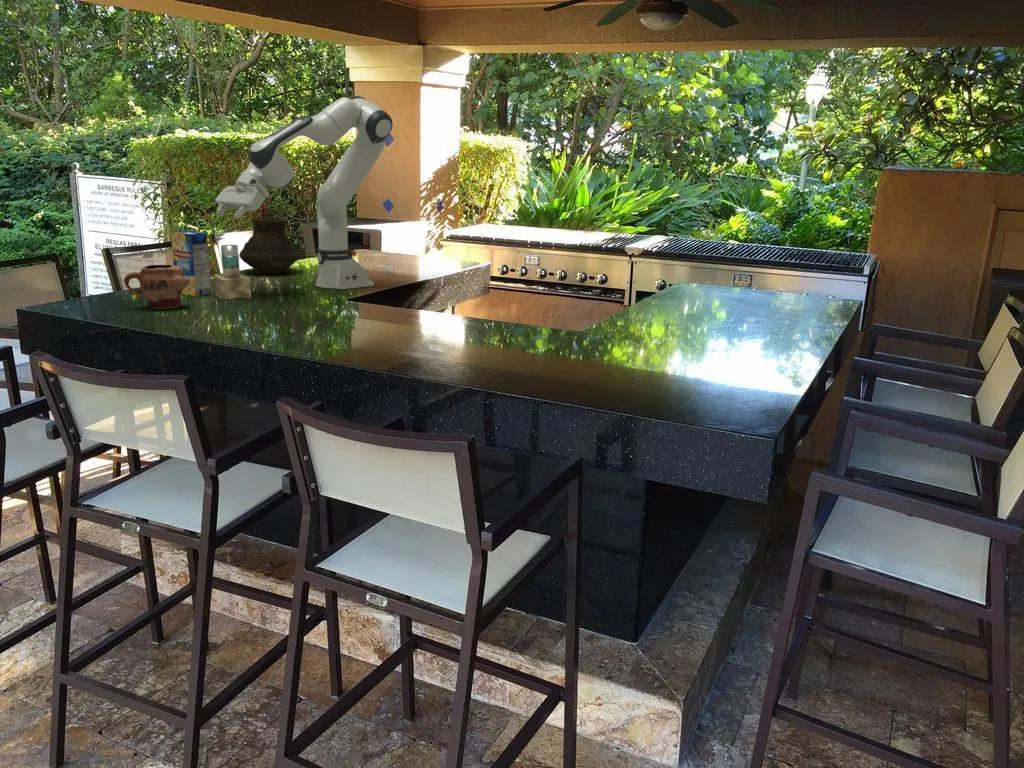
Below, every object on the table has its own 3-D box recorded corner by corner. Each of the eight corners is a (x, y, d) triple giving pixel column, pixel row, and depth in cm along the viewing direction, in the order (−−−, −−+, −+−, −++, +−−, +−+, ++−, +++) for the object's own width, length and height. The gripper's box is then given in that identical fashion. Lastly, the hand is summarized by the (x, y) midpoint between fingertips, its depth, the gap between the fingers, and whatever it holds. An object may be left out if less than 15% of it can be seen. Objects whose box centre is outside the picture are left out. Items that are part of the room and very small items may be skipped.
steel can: (237, 275, 307) (234, 244, 304) (242, 277, 303) (239, 246, 300) (221, 276, 304) (218, 245, 301) (226, 278, 300) (223, 247, 297)
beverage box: (196, 296, 303) (191, 234, 297) (175, 293, 308) (170, 231, 302) (211, 294, 308) (207, 232, 302) (191, 290, 314) (186, 230, 308)
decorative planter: (128, 313, 273) (123, 269, 270) (125, 306, 284) (121, 264, 280) (194, 309, 282) (190, 267, 278) (189, 302, 293) (186, 261, 289)
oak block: (243, 293, 312) (242, 274, 310) (251, 297, 304) (250, 278, 302) (215, 295, 307) (213, 275, 305) (222, 299, 299) (221, 279, 297)
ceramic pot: (296, 277, 349) (294, 221, 343) (235, 276, 346) (232, 220, 339) (303, 268, 372) (301, 216, 365) (245, 267, 368) (242, 215, 362)
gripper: (224, 178, 306) (203, 208, 301) (261, 181, 295) (239, 212, 290) (235, 191, 311) (214, 220, 306) (272, 194, 299) (251, 224, 294)
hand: (227, 216), depth 298 cm, fingers open, 8 cm apart
